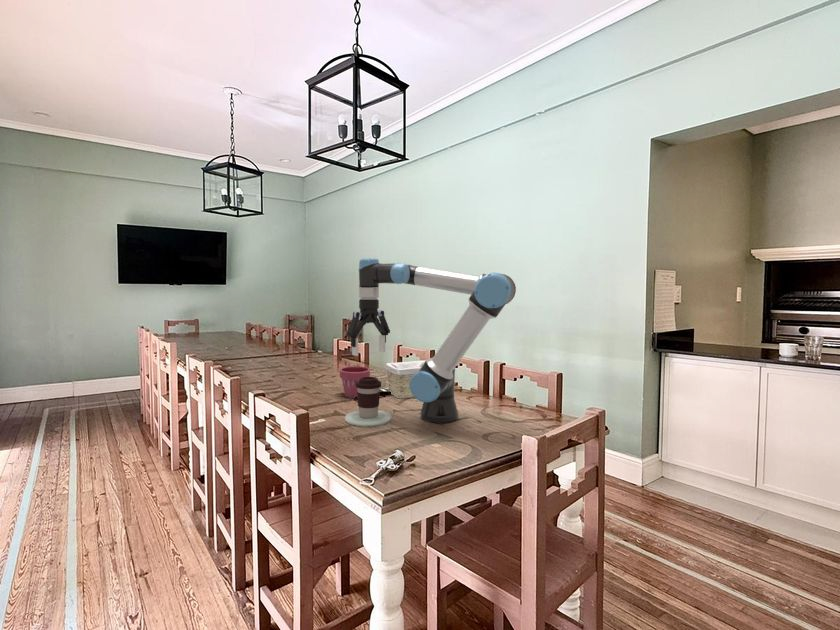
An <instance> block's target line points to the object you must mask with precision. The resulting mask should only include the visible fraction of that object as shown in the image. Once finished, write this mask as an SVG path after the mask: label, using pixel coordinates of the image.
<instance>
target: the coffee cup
mask: <svg viewBox="0 0 840 630" xmlns="http://www.w3.org/2000/svg"><path fill="white" fill-rule="evenodd" d="M356 387H357V389H358V391H357V398H356V399H357V407H358V411H359V416H360V417H362V418H374V417H377V415H378V410H379V406H380V396H381V389H380V388H381V387H382V382H381V380H379V379H378V377H376V376H370V377H362V378H360V380H359V381H357V382H356Z"/></svg>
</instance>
